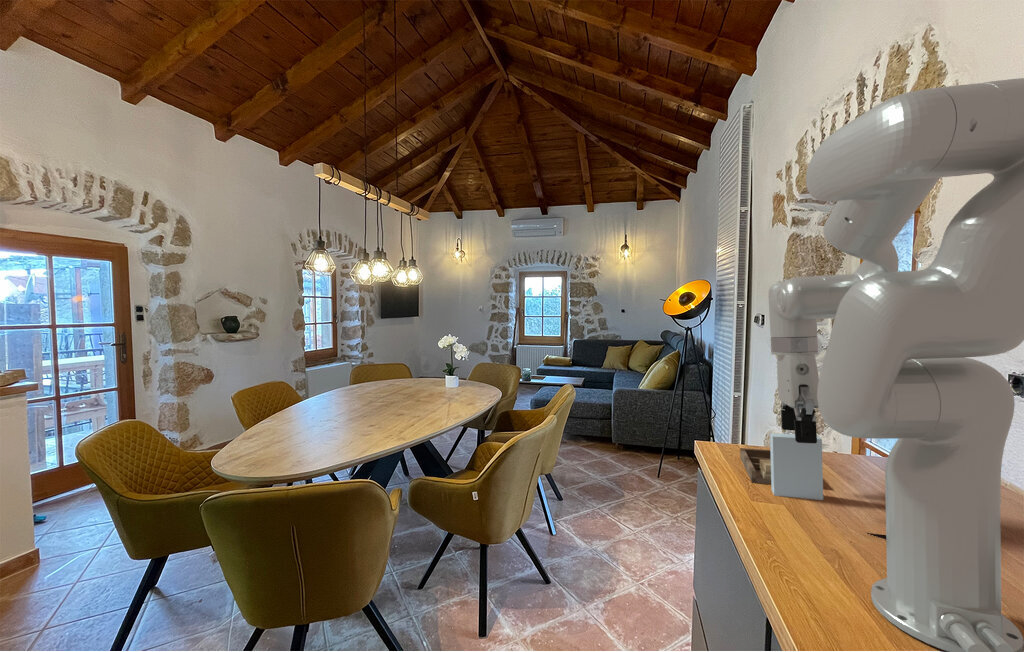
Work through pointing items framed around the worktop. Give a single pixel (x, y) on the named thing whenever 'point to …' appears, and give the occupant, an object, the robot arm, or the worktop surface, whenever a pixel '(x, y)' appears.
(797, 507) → the worktop surface
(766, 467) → the offcut top
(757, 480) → the rack
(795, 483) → the board
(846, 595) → the worktop surface
